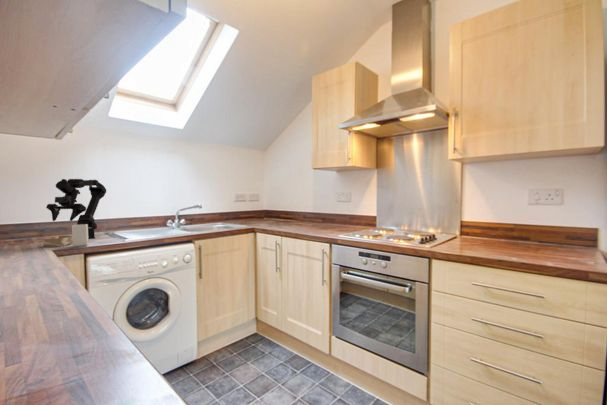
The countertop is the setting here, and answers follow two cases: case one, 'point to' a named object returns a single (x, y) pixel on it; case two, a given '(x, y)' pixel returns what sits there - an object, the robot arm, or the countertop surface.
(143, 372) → the countertop surface
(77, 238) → the grey tote
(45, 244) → the beech crate
